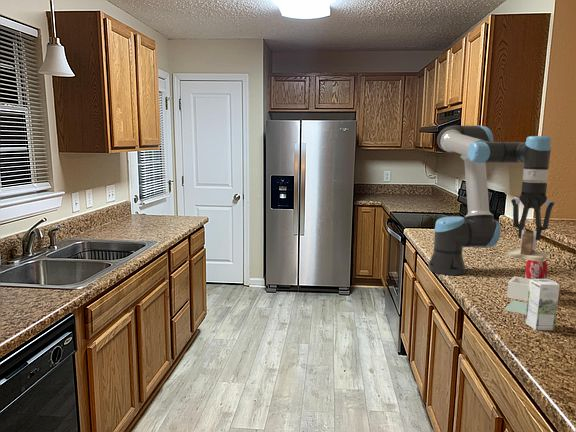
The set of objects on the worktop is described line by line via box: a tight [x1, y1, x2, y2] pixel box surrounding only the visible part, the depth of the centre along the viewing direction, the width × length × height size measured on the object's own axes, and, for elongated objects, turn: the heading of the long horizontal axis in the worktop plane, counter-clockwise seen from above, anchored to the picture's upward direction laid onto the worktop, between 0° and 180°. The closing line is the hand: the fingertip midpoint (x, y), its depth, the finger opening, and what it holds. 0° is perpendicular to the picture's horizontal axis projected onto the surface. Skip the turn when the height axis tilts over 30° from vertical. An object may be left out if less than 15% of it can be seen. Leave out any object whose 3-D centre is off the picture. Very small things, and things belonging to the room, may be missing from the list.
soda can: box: [524, 258, 548, 279], centre depth 169 cm, size 7×7×12 cm
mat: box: [503, 299, 527, 316], centre depth 148 cm, size 12×12×1 cm
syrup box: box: [524, 278, 561, 331], centre depth 132 cm, size 6×6×14 cm
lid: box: [506, 231, 549, 262], centre depth 157 cm, size 11×11×8 cm
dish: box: [506, 276, 530, 302], centre depth 160 cm, size 9×9×6 cm
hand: (528, 248), depth 157 cm, fingers closed on lid, 3 cm apart
